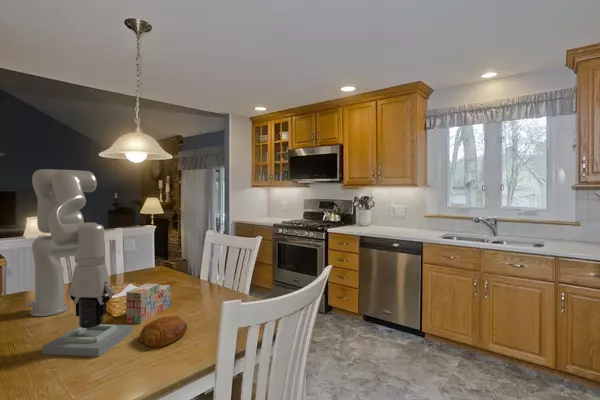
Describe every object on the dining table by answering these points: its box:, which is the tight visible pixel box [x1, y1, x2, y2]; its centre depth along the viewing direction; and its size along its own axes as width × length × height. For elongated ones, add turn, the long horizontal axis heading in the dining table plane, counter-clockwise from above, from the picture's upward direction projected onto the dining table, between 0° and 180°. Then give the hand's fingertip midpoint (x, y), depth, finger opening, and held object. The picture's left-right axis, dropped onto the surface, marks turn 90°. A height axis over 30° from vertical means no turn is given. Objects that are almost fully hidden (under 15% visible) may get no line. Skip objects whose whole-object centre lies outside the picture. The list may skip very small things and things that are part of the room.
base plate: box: [42, 323, 134, 357], centre depth 110 cm, size 18×18×4 cm
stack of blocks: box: [125, 283, 172, 325], centre depth 137 cm, size 21×6×12 cm, turn 171°
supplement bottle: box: [78, 296, 104, 328], centre depth 110 cm, size 7×7×12 cm
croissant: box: [139, 315, 188, 348], centre depth 114 cm, size 14×16×8 cm
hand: (91, 314), depth 110 cm, fingers closed on supplement bottle, 6 cm apart
